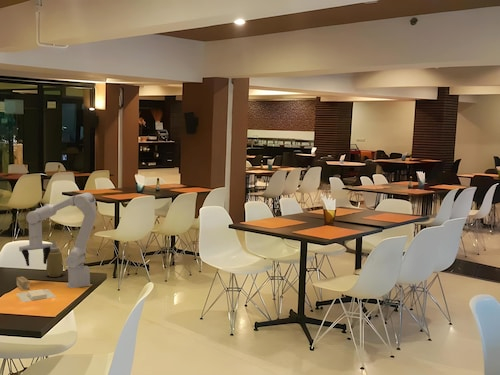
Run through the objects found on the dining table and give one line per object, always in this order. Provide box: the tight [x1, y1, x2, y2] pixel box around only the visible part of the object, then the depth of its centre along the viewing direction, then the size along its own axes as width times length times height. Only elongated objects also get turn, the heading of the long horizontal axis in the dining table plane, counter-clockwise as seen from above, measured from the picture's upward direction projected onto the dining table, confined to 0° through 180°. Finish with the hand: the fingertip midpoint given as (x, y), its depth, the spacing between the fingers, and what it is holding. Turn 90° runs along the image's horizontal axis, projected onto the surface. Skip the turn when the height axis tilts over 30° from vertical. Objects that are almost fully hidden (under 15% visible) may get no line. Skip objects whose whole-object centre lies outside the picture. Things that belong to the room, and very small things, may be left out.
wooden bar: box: [16, 276, 31, 292], centre depth 257 cm, size 3×10×4 cm, turn 37°
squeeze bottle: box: [46, 239, 64, 278], centre depth 277 cm, size 8×8×18 cm
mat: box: [15, 288, 57, 303], centre depth 246 cm, size 14×14×1 cm
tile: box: [26, 288, 48, 301], centre depth 243 cm, size 6×2×9 cm
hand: (36, 264), depth 263 cm, fingers open, 7 cm apart
